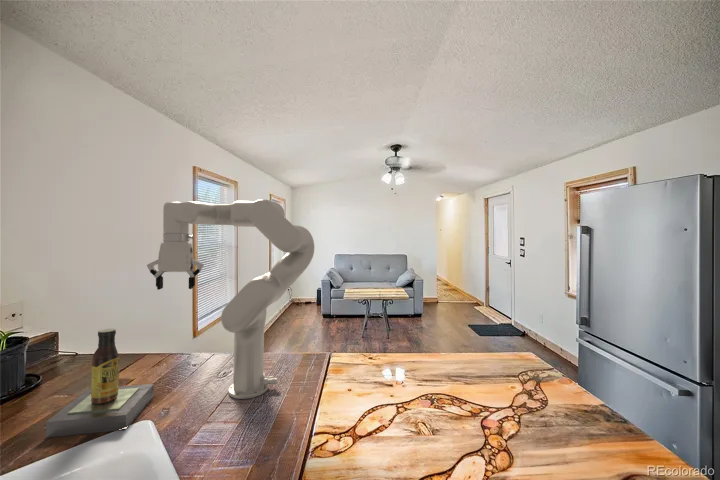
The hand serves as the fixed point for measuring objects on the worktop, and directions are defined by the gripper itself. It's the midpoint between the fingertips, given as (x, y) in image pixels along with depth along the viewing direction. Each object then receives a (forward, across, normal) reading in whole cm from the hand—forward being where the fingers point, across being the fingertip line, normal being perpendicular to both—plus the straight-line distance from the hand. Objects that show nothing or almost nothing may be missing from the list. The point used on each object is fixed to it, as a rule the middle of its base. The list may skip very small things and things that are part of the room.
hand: (175, 288), depth 111 cm
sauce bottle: (+29, +13, +16) cm, 36 cm away
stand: (+33, +13, +16) cm, 39 cm away
